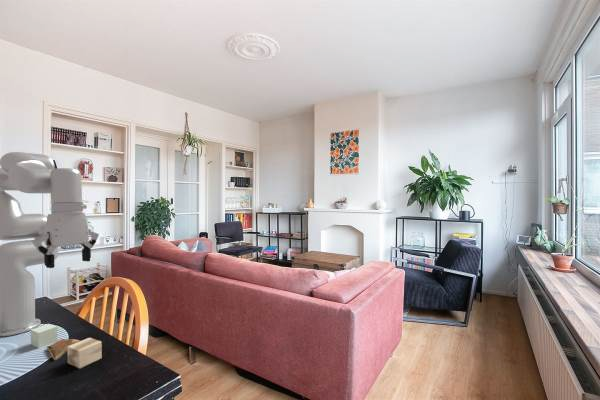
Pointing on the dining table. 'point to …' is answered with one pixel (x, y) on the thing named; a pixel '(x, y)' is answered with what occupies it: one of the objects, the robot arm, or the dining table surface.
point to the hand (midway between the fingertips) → (69, 264)
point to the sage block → (43, 335)
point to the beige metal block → (84, 352)
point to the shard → (60, 347)
